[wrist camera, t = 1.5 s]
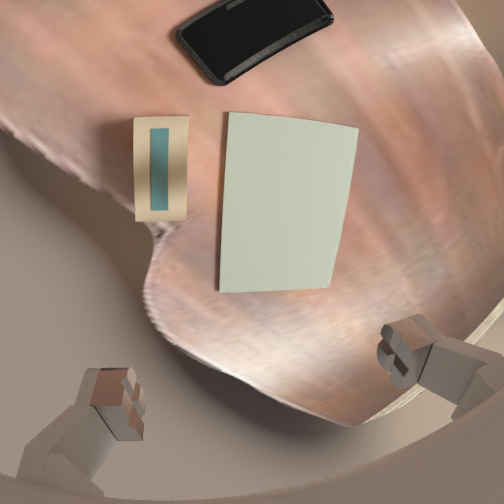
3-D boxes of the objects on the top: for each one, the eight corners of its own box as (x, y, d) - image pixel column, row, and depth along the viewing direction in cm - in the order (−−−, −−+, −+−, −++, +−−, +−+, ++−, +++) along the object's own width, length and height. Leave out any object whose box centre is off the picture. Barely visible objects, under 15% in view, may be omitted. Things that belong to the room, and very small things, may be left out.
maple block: (143, 116, 25) (133, 117, 21) (189, 115, 26) (188, 116, 22) (143, 204, 29) (135, 222, 25) (186, 203, 30) (186, 221, 26)
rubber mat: (228, 112, 27) (229, 112, 26) (356, 128, 29) (358, 128, 29) (219, 290, 35) (219, 292, 35) (327, 285, 38) (328, 287, 38)
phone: (338, 21, 23) (219, 89, 25) (333, 23, 24) (218, 90, 26) (295, -33, 19) (170, 31, 21) (291, -30, 20) (170, 34, 22)
